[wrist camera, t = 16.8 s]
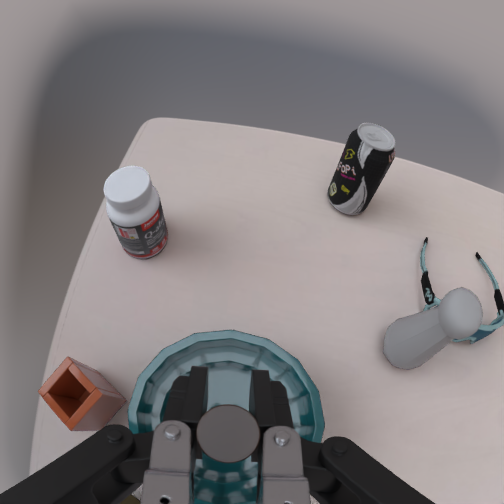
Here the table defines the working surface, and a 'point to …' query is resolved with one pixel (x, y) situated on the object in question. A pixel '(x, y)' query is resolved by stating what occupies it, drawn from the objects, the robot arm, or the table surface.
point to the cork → (130, 500)
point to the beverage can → (361, 168)
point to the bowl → (225, 400)
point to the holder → (81, 396)
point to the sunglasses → (432, 300)
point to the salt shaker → (432, 329)
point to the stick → (228, 433)
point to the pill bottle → (135, 211)
